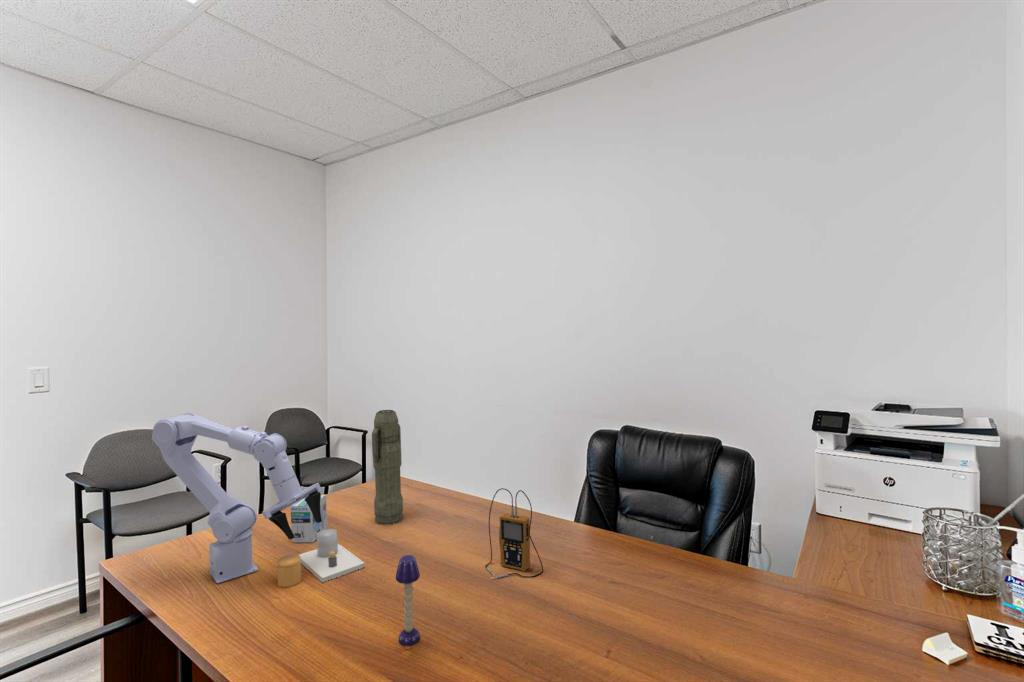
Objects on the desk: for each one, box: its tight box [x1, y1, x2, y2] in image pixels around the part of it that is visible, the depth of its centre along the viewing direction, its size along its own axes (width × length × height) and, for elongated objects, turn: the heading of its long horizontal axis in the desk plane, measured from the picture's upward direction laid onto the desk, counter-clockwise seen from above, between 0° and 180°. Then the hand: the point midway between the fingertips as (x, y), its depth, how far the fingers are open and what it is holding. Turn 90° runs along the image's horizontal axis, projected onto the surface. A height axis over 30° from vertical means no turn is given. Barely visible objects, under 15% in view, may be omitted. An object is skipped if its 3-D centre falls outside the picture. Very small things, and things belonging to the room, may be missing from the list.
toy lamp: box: [395, 554, 421, 647], centre depth 101 cm, size 5×5×17 cm
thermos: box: [371, 409, 404, 525], centre depth 163 cm, size 9×12×35 cm
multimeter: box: [485, 487, 544, 580], centre depth 126 cm, size 15×10×20 cm
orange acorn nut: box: [276, 553, 302, 588], centre depth 125 cm, size 5×5×6 cm
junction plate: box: [298, 528, 366, 583], centre depth 134 cm, size 11×17×7 cm, turn 42°
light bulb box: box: [290, 494, 328, 543], centre depth 152 cm, size 11×7×11 cm, turn 179°
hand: (305, 530), depth 129 cm, fingers open, 7 cm apart
